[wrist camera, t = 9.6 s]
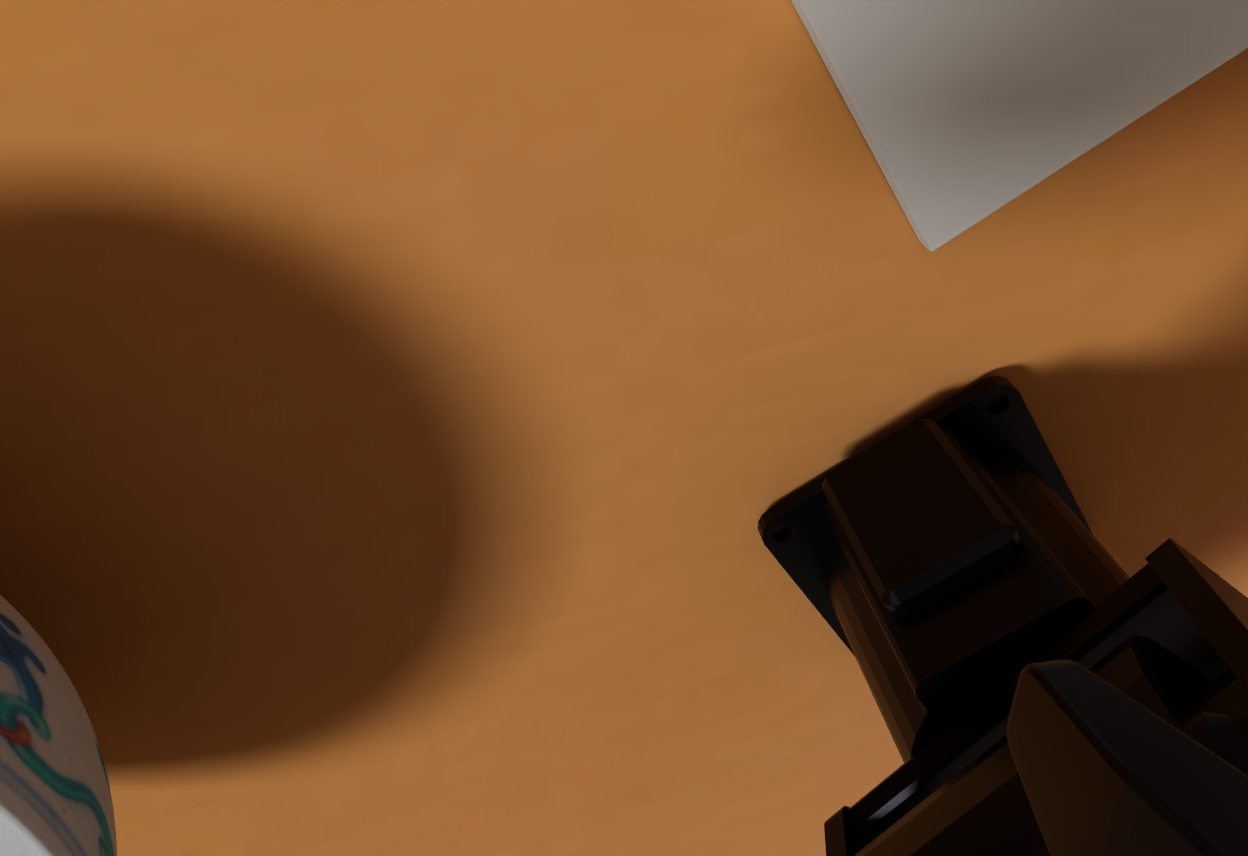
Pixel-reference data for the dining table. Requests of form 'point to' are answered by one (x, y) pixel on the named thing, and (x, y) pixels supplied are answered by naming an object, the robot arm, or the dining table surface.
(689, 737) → the dining table surface
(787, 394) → the dining table surface
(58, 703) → the chinaware
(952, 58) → the grey mat
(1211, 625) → the robot arm
